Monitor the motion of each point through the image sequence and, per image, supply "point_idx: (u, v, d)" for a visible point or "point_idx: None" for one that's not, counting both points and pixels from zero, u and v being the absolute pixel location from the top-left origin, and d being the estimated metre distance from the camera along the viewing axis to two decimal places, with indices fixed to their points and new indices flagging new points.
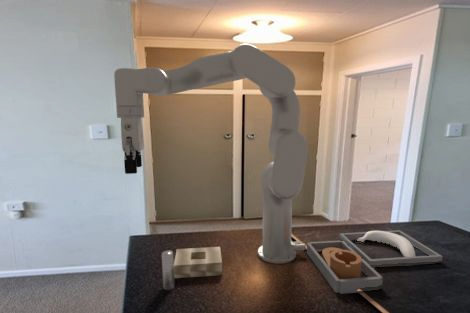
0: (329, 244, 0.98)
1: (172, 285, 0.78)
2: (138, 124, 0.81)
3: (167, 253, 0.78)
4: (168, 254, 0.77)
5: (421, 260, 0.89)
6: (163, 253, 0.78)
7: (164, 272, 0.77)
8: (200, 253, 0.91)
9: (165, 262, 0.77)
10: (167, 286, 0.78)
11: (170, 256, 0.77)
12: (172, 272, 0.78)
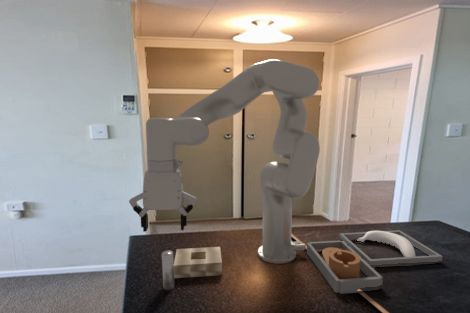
0: (329, 244, 0.98)
1: (172, 285, 0.78)
2: None
3: (167, 253, 0.78)
4: (168, 254, 0.77)
5: (421, 260, 0.89)
6: (163, 253, 0.78)
7: (164, 272, 0.77)
8: (200, 253, 0.91)
9: (165, 262, 0.77)
10: (167, 286, 0.78)
11: (170, 256, 0.77)
12: (172, 272, 0.78)
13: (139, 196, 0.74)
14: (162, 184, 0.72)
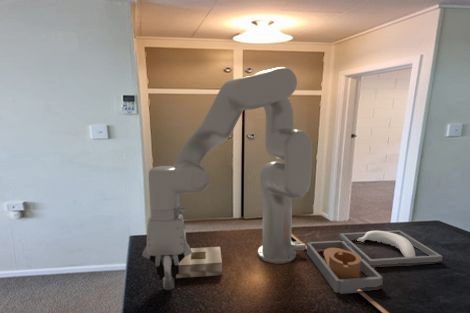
0: (329, 244, 0.98)
1: (172, 285, 0.78)
2: None
3: None
4: None
5: (421, 260, 0.89)
6: None
7: (164, 272, 0.77)
8: (200, 253, 0.91)
9: (165, 262, 0.77)
10: (167, 286, 0.78)
11: (170, 256, 0.77)
12: (172, 272, 0.78)
13: None
14: (165, 231, 0.74)
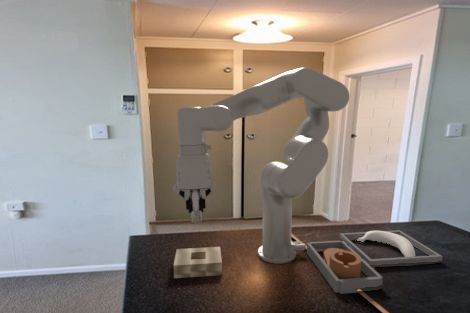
0: (329, 244, 0.98)
1: (200, 218, 0.85)
2: None
3: None
4: (196, 189, 0.83)
5: (421, 260, 0.89)
6: None
7: (192, 206, 0.84)
8: (200, 253, 0.91)
9: (193, 196, 0.83)
10: (195, 219, 0.84)
11: (197, 190, 0.83)
12: (200, 206, 0.85)
13: None
14: (194, 166, 0.81)
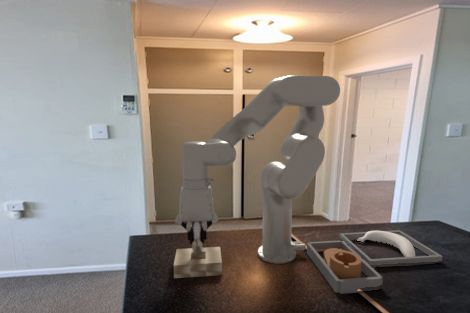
0: (329, 244, 0.98)
1: (201, 249, 0.87)
2: None
3: None
4: (198, 221, 0.86)
5: (421, 260, 0.89)
6: None
7: (194, 237, 0.86)
8: (200, 253, 0.91)
9: (195, 228, 0.85)
10: (196, 250, 0.86)
11: (199, 222, 0.85)
12: (201, 237, 0.87)
13: None
14: (196, 199, 0.83)
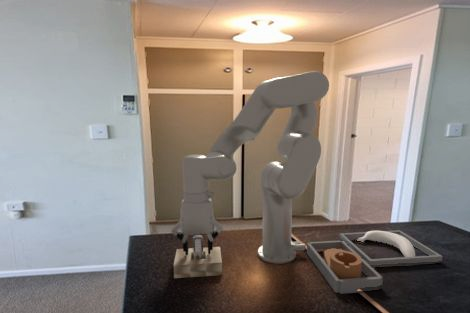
0: (329, 244, 0.98)
1: None
2: None
3: (198, 237, 0.87)
4: (199, 238, 0.86)
5: (421, 260, 0.89)
6: (194, 237, 0.87)
7: (195, 254, 0.87)
8: None
9: (196, 245, 0.86)
10: None
11: (200, 240, 0.86)
12: (202, 254, 0.88)
13: (178, 225, 0.86)
14: (197, 212, 0.84)
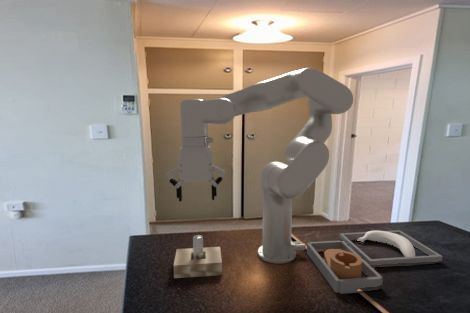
0: (329, 244, 0.98)
1: None
2: None
3: (198, 237, 0.87)
4: (199, 238, 0.86)
5: (421, 260, 0.89)
6: (194, 237, 0.87)
7: (195, 254, 0.87)
8: None
9: (196, 245, 0.86)
10: None
11: (200, 240, 0.86)
12: (202, 254, 0.88)
13: (175, 170, 0.83)
14: (195, 158, 0.81)
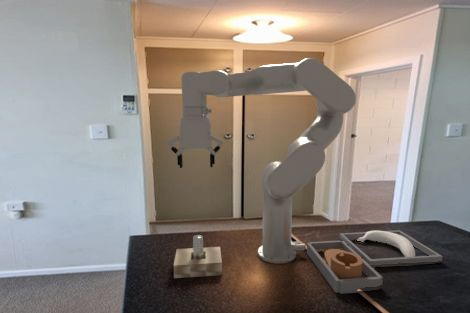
0: (329, 244, 0.98)
1: None
2: None
3: (198, 237, 0.87)
4: (199, 238, 0.86)
5: (421, 260, 0.89)
6: (194, 237, 0.87)
7: (195, 254, 0.87)
8: None
9: (196, 245, 0.86)
10: None
11: (200, 240, 0.86)
12: (202, 254, 0.88)
13: (176, 138, 0.89)
14: (195, 127, 0.88)
